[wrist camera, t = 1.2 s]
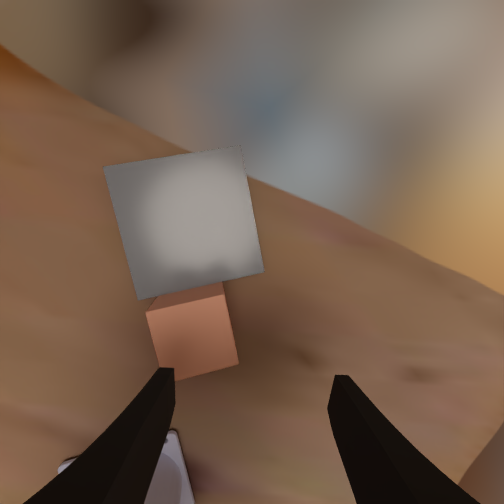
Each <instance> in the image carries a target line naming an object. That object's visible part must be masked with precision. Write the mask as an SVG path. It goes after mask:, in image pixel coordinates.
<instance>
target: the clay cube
mask: <svg viewBox="0 0 504 504" xmlns="http://www.w3.org/2000/svg"><path fill="white" fill-rule="evenodd" d="M145 313H146V317H147V321H148V324H149V328H150V332H151V336H152V340H153V343H154V347H155V351H156V355H157V359H158V363H159V366H160V367H168V368H174V375H175V381H179V380H182V379H186V378H190V377H194V376H197V375H201V374H205V373H209V372H212V371H216V370H220V369H223V368H227V367H231V366H235V365H238V364H239V361H238V356H237V350H236V345H235V339H234V334H233V329H232V325H231V320H230V315H229V311H228V306H227V301H226V297H225V292H224V287H223V283H222V282H218V283H214V284H209V285H205V286H200V287H196V288H191V289H187V290H182V291H178V292H173V293H169V294H165V295H160V296H158V297H157V298H156V299H155V301H154V302H153V303H152V304H151V306H150V307H149V308H148V310H147V311H146V312H145Z"/></svg>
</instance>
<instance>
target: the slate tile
mask: <svg viewBox="0 0 504 504" xmlns="http://www.w3.org/2000/svg"><path fill="white" fill-rule="evenodd" d="M103 170H104V173H105V177H106V181H107V185H108V189H109V192H110V196H111V200H112V204H113V208H114V211H115V215H116V219H117V223H118V226H119V230H120V234H121V238H122V242H123V245H124V249H125V253H126V257H127V261H128V264H129V268H130V272H131V276H132V280H133V283H134V287H135V291H136V295H137V299H138V300H142V299H147V298H151V297H156V296H160V295H165V294H169V293H173V292H178V291H182V290H187V289H191V288H196V287H200V286H205V285H209V284H214V283H218V282H223V281H227V280H232V279H236V278H240V277H245V276H249V275H254V274H258V273H263V272H264V266H263V261H262V256H261V251H260V245H259V240H258V235H257V229H256V224H255V219H254V214H253V208H252V203H251V198H250V192H249V187H248V182H247V177H246V171H245V166H244V161H243V156H242V150H241V146H240V145H239V146H232V147H227V148H220V149H214V150H207V151H201V152H194V153H188V154H181V155H175V156H168V157H162V158H156V159H149V160H143V161H136V162H130V163H124V164H117V165H111V166H105V167H103Z"/></svg>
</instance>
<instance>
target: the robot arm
mask: <svg viewBox="0 0 504 504" xmlns="http://www.w3.org/2000/svg"><path fill="white" fill-rule="evenodd" d="M174 407H175V375H174V368H168V367H160V368H159V369H158V370H157V371H156V372H155V374H154V375H153V376H152V377H151V379H150V380H149V381H148V383H147V384H146V385H145V386H144V387H143V389H142V390H141V391H140V392H139V394H138V395H137V396H136V397H135V398H134V399H133V401H132V402H131V403H130V404H129V405H128V406H127V407H126V409H125V410H124V411H123V412H122V413H121V414H120V415H119V416H118V417H117V419H116V420H115V421H114V422H113V423H112V424H111V425H110V426H109V427H108V428H107V429H106V430H105V431H104V432H103V433H102V434H101V435H100V436H99V437H98V438H97V439H96V440H95V441H94V442H93V443H92V444H91V445H90V446H89V447H88V448H87V449H86V450H85V451H84V452H83V453H82V454H81V455H80V456H79V457H77V458H75V459H71V460H68V461H65V462H63V463H62V464H61V465H60V466H59V468H58V473H59V474H58V475H57V476H56V477H55V478H54V479H53V480H51V481H50V482H49V483H48V484H47V485H46V486H44V487H43V488H42V489H41V490H40V491H38V492H37V493H36V494H34V495H33V496H32V497H31V498H29V499H28V500H27V501H26V502H24V503H23V504H195V500H194V496H193V492H192V488H191V485H190V481H189V477H188V473H187V469H186V465H185V462H184V458H183V454H182V450H181V446H180V442H179V439H178V435H177V432H175V431H173V430H171V431H169V428H170V424H171V419H172V415H173V411H174ZM327 410H328V414H329V419H330V423H331V427H332V431H333V435H334V438H335V441H336V444H337V447H338V450H339V453H340V456H341V459H342V462H343V465H344V468H345V471H346V473H347V476H348V479H349V482H350V485H351V488H352V491H353V494H354V497H355V500H356V503H357V504H480V503H479V502H477V501H476V500H475V499H474V498H472V497H471V496H470V495H469V494H468V493H466V492H465V491H464V490H463V489H462V488H460V487H459V486H458V485H457V484H455V483H454V482H453V481H452V480H451V479H449V478H448V477H447V476H446V475H445V474H444V473H442V472H441V471H440V470H439V469H438V468H437V467H436V466H435V465H434V464H432V463H431V462H430V461H429V460H428V459H427V458H426V457H425V456H424V455H423V454H421V453H420V452H419V451H418V450H417V449H416V448H415V447H414V446H413V445H412V444H411V443H410V442H409V441H408V440H407V439H406V438H405V437H404V436H403V435H402V434H401V433H400V432H399V431H398V430H397V429H396V428H395V427H394V426H393V425H392V424H391V423H390V422H389V420H388V419H387V418H386V417H385V416H384V415H383V414H382V413H381V412H380V411H379V410H378V409H377V407H376V406H375V405H374V404H373V403H372V402H371V401H370V400H369V398H368V397H367V396H366V395H365V394H364V393H363V392H362V390H361V389H360V388H359V387H358V386H357V385H356V383H355V382H354V381H353V380H352V379H351V378H350V377H349V376H348V375H335V377H334V381H333V386H332V390H331V394H330V399H329V403H328V407H327ZM166 438H167V440H166Z"/></svg>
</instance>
